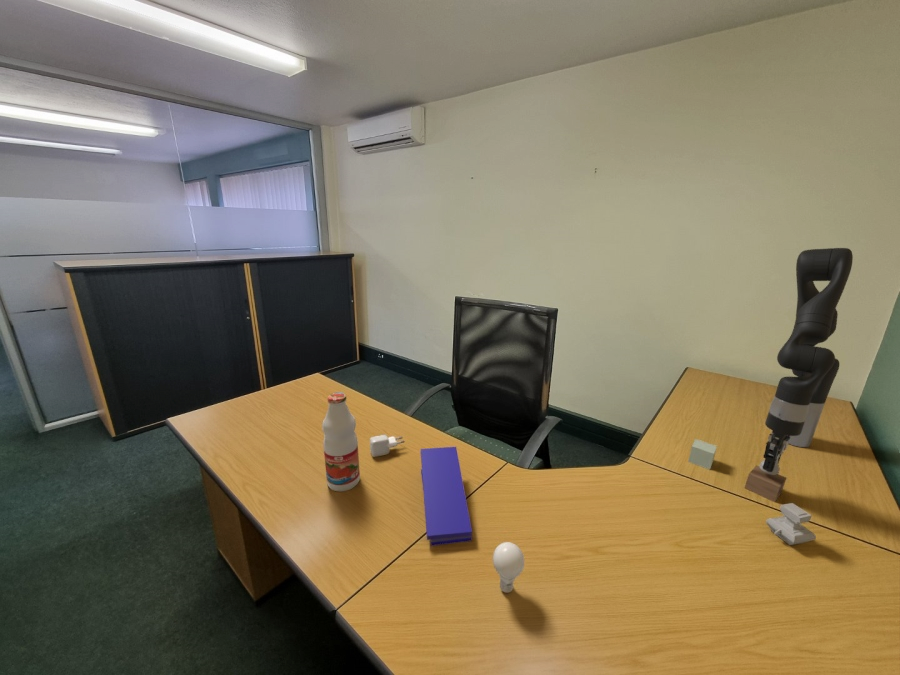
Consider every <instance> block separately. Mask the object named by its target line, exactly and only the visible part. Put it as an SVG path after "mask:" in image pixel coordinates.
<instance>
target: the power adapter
mask: <svg viewBox="0 0 900 675" xmlns="http://www.w3.org/2000/svg"><path fill="white" fill-rule="evenodd" d="M401 439H403V436H399V437H398V436H397V437H395V436H394V435H393V436H392V435H391V436H389V437H388V436H387V434H380V435H376V436H371V437H370V438H369V446H370V447H369V449H370V454H371V455H372V457H374V458H375V457H380V456H384V455H385V456H386V455H388V454H389V453H390V448H394V447H398V445H399V444H403V443H405V440H401ZM397 440H400V441H397Z"/></svg>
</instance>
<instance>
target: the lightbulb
mask: <svg viewBox="0 0 900 675" xmlns="http://www.w3.org/2000/svg"><path fill="white" fill-rule="evenodd" d="M492 563H493V567H494V570H495V571H496V572H497V574H498V576H499V578H500V582H499V588H500V590H501V591H502V592H504V593H506V594H508V593H512V591H513V588H514V581H515V579H516V578H518V577H519V576H520V575H521V574H522V572H523V570H524V569H525V555H524V553H523V551H522V550H521V548H520V547H519V545H517V544H515V543H513V542H508V541H504V542H502V543H500V544H499V545H497V547H496V548H495V549H494V550H493V554H492Z"/></svg>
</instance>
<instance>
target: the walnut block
mask: <svg viewBox="0 0 900 675" xmlns="http://www.w3.org/2000/svg"><path fill="white" fill-rule="evenodd" d="M786 480H787V477H786V476H783V475H782V474H780V473H779V474H776V475H771V474H768V473H765V472H763V471H762V470H761V469H760V467H759V465H757V464H756V465H755V466H754V467H753V469H752V470H751V471H750V472H749V473H748V475H747V478H746V482H745V486H744V489H746V490H748V491H750V492H753V493H755V494H757V495H758V496H761V497H762V498H765V499H767V500H770V501H772V502H774V503H775V502H776V501H777V500H778V499H779V496H780V495H781V494H782V492H783V489H784V486H785V483H786Z"/></svg>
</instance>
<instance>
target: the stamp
mask: <svg viewBox="0 0 900 675" xmlns="http://www.w3.org/2000/svg"><path fill="white" fill-rule="evenodd" d="M779 510H780V513H781V514H782V515H783V516H778V517H771V518H767V519H766V521H765V523H766V525H767V527H768V528H769V529H770V531H771V532H773V534H774V535H775V536H777V537H779V538H780V539H781V540H782V541H784V542H785V543H787V544H788V545H789V546H793V545H799V544H804V543H807V542H810V541H813V540H816V538H817V537H816V534H815V533H814V532H813V531H811V530H810V529H808V528H807V527H806V526H804V525H802V524H806V523H809V522H810V520H811V518H812V514H810V513H809V512H807V511H805V510H804V509H802V508H801V507H800V506H798V505H796V504H795V503H793V502H791V503H790V502H789V503H785V504H780V507H779Z"/></svg>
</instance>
